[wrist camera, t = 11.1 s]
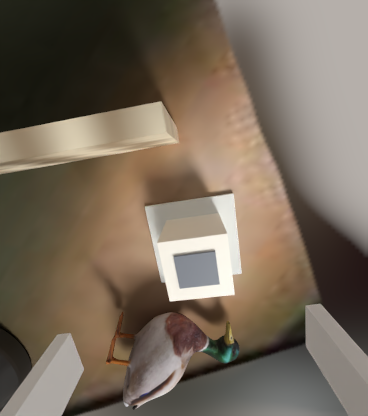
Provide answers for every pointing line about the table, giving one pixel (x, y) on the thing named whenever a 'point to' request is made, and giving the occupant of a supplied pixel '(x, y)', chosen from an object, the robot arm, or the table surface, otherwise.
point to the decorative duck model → (166, 355)
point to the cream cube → (196, 258)
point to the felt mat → (190, 209)
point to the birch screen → (87, 137)
